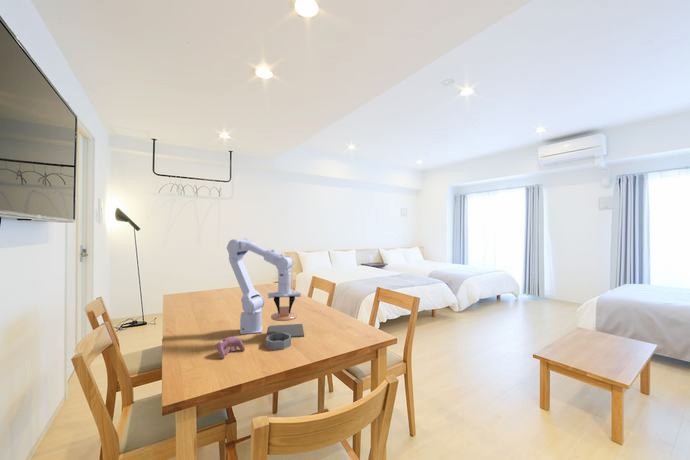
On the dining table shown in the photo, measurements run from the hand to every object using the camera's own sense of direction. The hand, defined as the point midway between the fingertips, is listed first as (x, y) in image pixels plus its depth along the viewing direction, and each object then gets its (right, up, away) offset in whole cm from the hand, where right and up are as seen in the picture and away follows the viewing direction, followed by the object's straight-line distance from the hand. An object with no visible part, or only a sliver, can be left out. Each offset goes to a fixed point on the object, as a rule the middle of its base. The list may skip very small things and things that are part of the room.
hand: (284, 313), depth 130 cm
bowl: (0, -10, -10) cm, 14 cm away
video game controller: (-17, -10, -19) cm, 27 cm away
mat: (0, -10, +4) cm, 11 cm away
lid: (0, -2, 0) cm, 2 cm away
